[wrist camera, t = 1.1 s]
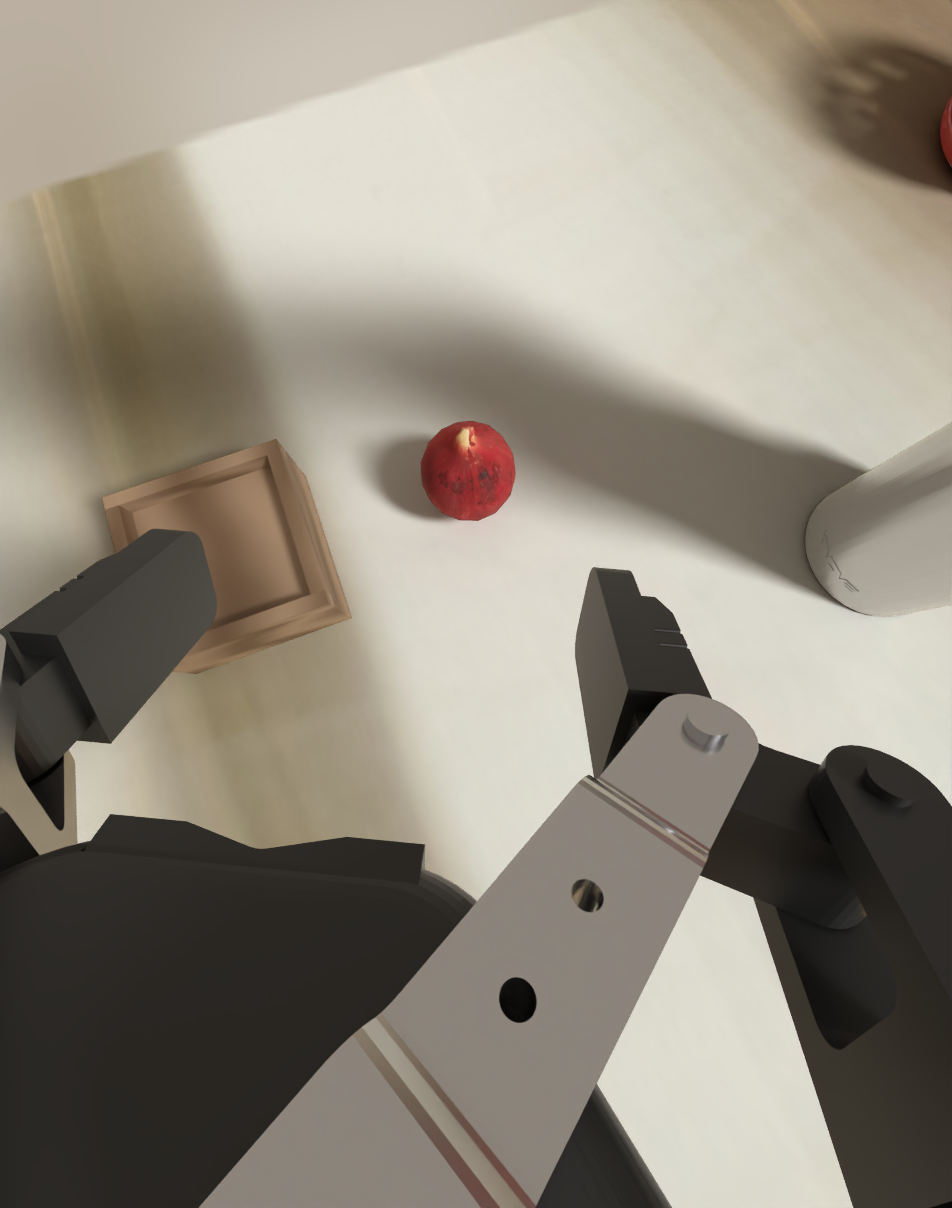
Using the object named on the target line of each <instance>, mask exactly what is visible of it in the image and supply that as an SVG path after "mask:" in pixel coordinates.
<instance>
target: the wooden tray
mask: <svg viewBox="0 0 952 1208" xmlns="http://www.w3.org/2000/svg"><path fill="white" fill-rule="evenodd" d="M102 500H103V504H104V508H105V512H106V517H107V521H108V525H109V529H110V533H111V537H112V541H113V546H114V550H115V554H117V553H118V552H119V551H121V550H122V549H124V548H125V547H126V546H128V545H129V544H131V543H132V542H133V541H135V540H136V539H138V538H139V537H140V536H142V535H143V534H145V533H146V532H147V531H149V530H151V529H168V530H179V531H191V532H194V533H196V534H197V535H198V536H199V538H200V539H201V541H202V544H203V548H204V551H205V555H206V559H207V563H208V567H209V570H210V574H211V578H212V582H213V586H214V589H215V593H216V598H217V611H216V615H215V618H214V621H213V623H212V625H211V626H210V627H209V628H208V630H207V631H206V632H205V633H204V634H203V636H202V637H201V638H200V639H199V640H198V641H197V643H196V644H195V645H194V646H193V647H192V648H191V650H190V651H189V652H188V653H187V654H186V656H185V657H184V658H183V659H182V660H181V661H180V663H179V664H178V665H177V666H176V667H175V668H174V670H173V671H172V672H181V673H192V674H197V673H200V672H203V671H205V670H208V669H211V668H214V667H216V666H219V665H222V664H225V663H228V662H230V661H233V660H236V659H239V658H241V657H244V656H247V655H250V654H253V653H255V652H258V651H261V650H264V649H267V648H269V647H272V646H275V645H278V644H280V643H283V642H286V641H289V640H292V639H294V638H297V637H300V636H303V635H305V634H308V633H311V632H314V631H317V630H319V629H322V628H325V627H328V626H330V625H333V624H336V623H339V622H342V621H344V620H347V619H350V618H352V617H351V614H350V611H349V608H348V605H347V602H346V599H345V596H344V592H343V589H342V586H341V583H340V580H339V577H338V574H337V571H336V568H335V565H334V562H333V559H332V556H331V552H330V549H329V546H328V543H327V540H326V537H325V534H324V531H323V528H322V525H321V522H320V519H319V516H318V512H317V509H316V506H315V503H314V500H313V497H312V494H311V491H310V488H309V485H308V482H307V479H306V476H305V475H304V474H303V473H302V471H301V470H300V469H299V467H298V466H297V465H296V464H295V462H294V461H293V460H292V458H291V457H290V456H289V455H288V453H287V452H286V451H285V450H284V448H283V447H282V446H281V444H280V443H279V442H278V441H277V439H275V440H272V441H269V442H266V443H263V444H260V445H257V446H254V447H251V448H248V449H245V450H242V451H239V452H236V453H233V454H230V455H227V456H224V457H221V458H218V459H215V460H212V461H209V462H206V463H203V464H200V465H197V466H194V467H191V468H188V469H185V470H183V471H180V472H177V473H174V474H171V475H168V476H165V477H162V478H159V479H156V480H153V481H150V482H147V483H144V484H141V485H138V486H135V487H132V488H129V489H126V490H123V491H120V492H117V493H114V494H111V495H108V496H105V497H102Z"/></svg>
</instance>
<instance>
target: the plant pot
mask: <svg viewBox="0 0 952 1208" xmlns="http://www.w3.org/2000/svg"><path fill="white" fill-rule="evenodd" d="M940 138H941V145H942V148H943V152H944V154H945V157H946V159H947V161H948V162H949V164H950V166H951V167H952V95H951V97H950V99H949V101H948V103H947V105H946V107H945V110H944V113H943V116H942V121H941V126H940Z"/></svg>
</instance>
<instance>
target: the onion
mask: <svg viewBox="0 0 952 1208" xmlns="http://www.w3.org/2000/svg"><path fill="white" fill-rule="evenodd" d="M421 474H422V485H423V487H424V489H425V491H426V493H427V495H428V497H429V499H430V500H431V502H432V503H433V504H434V505H435V506H436V507H437V508H438V509H439V510H440V511H441V512H442V513H443V514H446V515H448V516H450V517H453V518H455V519H458V520H474V521H479V520H481V519H483V518H485V517H488V516H490V515H492V514H494V513H496V512H497V511H498V510H499V508H500V507H501V506H502V505H503V504H504V503H505V501H506V500H507V499H508V498H509V496H510V495H511V491H512V487H513V483H514V479H515V466H514V458H513V454H512V451H511V449H510V448H509V446H508V445H507V443H506V441H505V440H504V438H503V437H502V436H501V435H500V434H499V433H498V432H496V431H495V430H494V429H493V428H492V427H491V426H489V425H487V424H483V423H478V422H474V421H467V422H457V423H454V424H452V425H450V426H448V427H446V428H443V429H441V430H440V431H439V432H438V433H437V435H436V436H435V437H434V438H433V439H432V440H431V441H430V442H429V443H428V445H427V448H426V450H425V453H424V455H423V458H422V460H421Z"/></svg>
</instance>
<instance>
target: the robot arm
mask: <svg viewBox="0 0 952 1208" xmlns="http://www.w3.org/2000/svg"><path fill="white" fill-rule="evenodd" d="M805 546H806V553H807V558H808V561H809V564H810V566H811V569H812V571H813V573H814V575H815V576H816V578H817V579H818V581H819V582H820V584H821V585H822V586H823V587H824V588H825V590H826V591H827V592H828V593H829V594H830V595H831V596H832V597H834V598H835V599H836V600H838V601H839V602H841V603H842V604H843V605H845V606H847V607H849V608H851V609H853V610H855V611H858V612H860V613H864V614H868V615H872V616H884V617H891V616H897V615H903V614H908V613H913V612H918V611H923V610H928V609H933V608H938V607H943V606H948V605H952V422H951V423H950V424H948V425H946V426H944V427H943V428H941V429H939V430H938V431H936V432H934V433H933V434H931V435H929V436H928V437H926V438H924V439H922V440H921V441H919V442H917V443H916V444H914V445H912V446H911V447H909V448H907V449H906V450H904V451H902V452H900V453H899V454H897V455H895V456H894V457H892V458H890V459H889V460H887V461H885V462H884V463H882V464H880V465H878V466H876V467H875V468H873V469H871V470H870V471H868V472H866V473H865V474H863V475H861V476H860V477H858V478H856V479H855V480H853V481H851V482H850V483H848V484H846V485H845V486H843V487H841V488H839V489H838V490H836V491H835V492H833V493H831V494H830V495H828V496H827V497H825V498H824V499H823V500H822V501H821V502H820V503H819V504H818V505H817V506H816V508H815V510H814V511H813V513H812V515H811V517H810V519H809V522H808V525H807V529H806V538H805ZM216 611H217V598H216V593H215V589H214V586H213V582H212V578H211V574H210V570H209V567H208V563H207V559H206V555H205V551H204V548H203V544H202V541H201V539H200V538H199V536H198V535H197V534H196V533H194V532H191V531H179V530H168V529H151V530H149V531H147V532H146V533H145V534H143V535H142V536H140V537H139V538H138V539H136V540H135V541H133V542H132V543H131V544H129V545H128V546H126V547H125V548H124V549H122V550H121V551H119V552H118V553H117V554H114V555H112V556H109V557H107V558H105V559H102V560H100V561H98V562H96V563H95V564H93V565H92V566H90V567H89V568H88V569H86V570H85V571H83V572H82V573H80V574H79V575H78V576H77V579H72V580H70V581H69V582H68V583H66V584H65V585H63V586H62V587H61V588H60V591H55V592H53V593H52V594H51V595H49V596H48V597H46V598H45V599H43V600H42V601H41V602H39V603H38V604H36V605H35V606H33V607H32V608H31V609H29V610H28V611H26V612H25V613H24V614H22V615H21V616H19V617H18V618H16V619H15V620H14V621H12V622H11V623H9V624H8V625H6V626H5V627H4V628H2V629H1V630H0V1208H672V1207H671V1205H670V1204H669V1202H668V1200H667V1199H666V1197H665V1195H664V1194H663V1192H662V1190H661V1189H660V1187H659V1186H658V1184H657V1182H656V1181H655V1179H654V1177H653V1176H652V1174H651V1172H650V1171H649V1169H648V1167H647V1166H646V1164H645V1163H644V1161H643V1159H642V1158H641V1156H640V1154H639V1153H638V1151H637V1149H636V1148H635V1146H634V1144H633V1143H632V1141H631V1139H630V1138H629V1136H628V1135H627V1133H626V1131H625V1130H624V1128H623V1126H622V1125H621V1123H620V1121H619V1120H618V1118H617V1116H616V1115H615V1113H614V1112H613V1110H612V1108H611V1107H610V1105H609V1103H608V1102H607V1100H606V1098H605V1097H604V1095H603V1093H602V1092H601V1090H600V1089H599V1087H598V1085H597V1081H598V1079H599V1077H600V1075H601V1073H602V1071H603V1069H604V1067H605V1065H606V1063H607V1061H608V1059H609V1057H610V1055H611V1053H612V1051H613V1049H614V1047H615V1045H616V1043H617V1041H618V1039H619V1037H620V1035H621V1033H622V1031H623V1029H624V1027H625V1025H626V1023H627V1021H628V1019H629V1017H630V1015H631V1013H632V1011H633V1009H634V1007H635V1005H636V1003H637V1001H638V999H639V997H640V995H641V993H642V991H643V989H644V987H645V985H646V983H647V981H648V979H649V977H650V975H651V973H652V970H653V968H654V966H655V964H656V962H657V960H658V958H659V956H660V954H661V952H662V950H663V948H664V946H665V944H666V942H667V940H668V938H669V936H670V934H671V932H672V930H673V928H674V926H675V924H676V922H677V920H678V918H679V916H680V914H681V912H682V910H683V908H684V906H685V904H686V902H687V900H688V898H689V896H690V894H691V892H692V890H693V888H694V886H695V884H696V882H697V880H698V878H699V876H703V877H705V878H708V879H710V880H713V881H715V882H717V883H720V884H722V885H725V886H727V887H730V888H732V889H734V890H737V891H739V892H742V893H744V894H746V895H749V896H751V897H753V898H754V901H755V904H756V908H757V911H758V914H759V917H760V920H761V923H762V926H763V929H764V932H765V935H766V938H767V942H768V945H769V948H770V951H771V954H772V957H773V960H774V963H775V966H776V969H777V973H778V976H779V979H780V982H781V985H782V988H783V991H784V994H785V997H786V1000H787V1004H788V1007H789V1010H790V1013H791V1016H792V1019H793V1022H794V1025H795V1028H796V1031H797V1034H798V1038H799V1041H800V1044H801V1047H802V1050H803V1053H804V1056H805V1059H806V1062H807V1065H808V1069H809V1072H810V1075H811V1078H812V1081H813V1084H814V1087H815V1090H816V1093H817V1096H818V1099H819V1103H820V1106H821V1109H822V1112H823V1115H824V1118H825V1121H826V1124H827V1127H828V1130H829V1134H830V1137H831V1140H832V1143H833V1146H834V1149H835V1152H836V1155H837V1158H838V1161H839V1165H840V1168H841V1171H842V1174H843V1177H844V1180H845V1183H846V1186H847V1189H848V1192H849V1195H850V1199H851V1202H852V1205H853V1208H952V806H951V805H950V803H949V802H948V801H947V799H946V798H945V797H944V796H943V794H942V793H941V792H940V791H939V790H938V788H937V787H936V786H935V785H934V784H932V783H931V782H930V781H929V780H928V779H927V778H926V777H925V776H923V775H922V774H921V773H920V772H918V771H917V770H915V769H914V768H912V767H911V766H909V765H908V764H906V763H904V762H902V761H901V760H899V759H897V758H895V757H893V756H891V755H889V754H886V753H883V752H881V751H878V750H875V749H871V748H868V747H862V746H854V745H848V746H841V747H837V748H835V749H833V750H831V752H830V753H829V754H828V755H827V756H826V758H825V759H824V761H823V762H822V764H821V765H819V764H816V763H813V762H810V761H807V760H804V759H801V758H798V757H795V756H792V755H788V754H785V753H782V752H779V751H776V750H773V749H771V748H768V747H765V746H763V745H761V744H759V743H758V740H757V737H756V735H755V733H754V731H753V729H752V728H751V726H750V725H749V724H748V723H747V722H746V720H745V719H744V718H743V717H741V716H740V715H739V714H738V713H737V712H735V711H734V710H732V709H731V708H729V707H728V706H726V705H724V704H722V703H720V702H718V701H716V700H713V699H712V698H711V695H710V693H709V691H708V689H707V687H706V685H705V682H704V680H703V678H702V676H701V674H700V672H699V669H698V667H697V665H696V663H695V661H694V658H693V656H692V654H691V652H690V650H689V649H687V643H686V641H685V639H684V637H683V635H682V634H680V631H681V630H680V628H679V626H678V624H677V622H676V619H675V617H674V615H673V613H672V612H671V611H670V610H669V609H668V608H666V607H665V606H664V605H663V604H662V603H661V602H660V601H659V600H658V599H657V598H655V597H647V596H641V594H640V592H639V589H638V587H637V584H636V581H635V579H634V576H633V574H632V572H631V571H629V570H618V569H607V568H595V567H594V568H592V570H591V572H590V574H589V578H588V582H587V587H586V591H585V596H584V601H583V605H582V610H581V614H580V619H579V624H578V628H577V634H576V643H575V658H576V665H577V672H578V678H579V684H580V691H581V697H582V703H583V710H584V716H585V723H586V729H587V735H588V742H589V748H590V754H591V761H592V767H593V773H594V778H593V777H592V776H590V775H588V776H585V777H584V778H583V779H581V780H580V781H579V782H578V783H577V784H576V786H575V787H574V788H573V789H572V790H571V791H570V792H569V794H568V795H567V796H566V797H565V798H564V800H563V801H562V802H561V803H560V804H559V805H558V807H557V808H556V809H555V810H554V811H553V813H552V814H551V815H550V816H549V817H548V818H547V820H546V821H545V822H544V823H543V824H542V826H541V827H540V828H539V829H538V830H537V831H536V833H535V834H534V835H533V836H532V837H531V839H530V840H529V841H528V842H527V843H526V844H525V846H524V847H523V848H522V849H521V850H520V852H519V853H518V854H517V855H516V856H515V857H514V859H513V860H512V861H511V862H510V863H509V865H508V866H507V867H506V868H505V869H504V870H503V872H502V873H501V874H500V875H499V876H498V878H497V879H496V880H495V881H494V882H493V883H492V885H491V886H490V887H489V888H488V889H487V891H486V892H485V893H484V894H483V895H482V896H481V898H480V899H479V900H478V901H476V900H475V899H474V898H473V897H472V896H471V895H469V894H468V893H467V892H465V891H464V890H462V889H461V888H460V887H458V886H457V885H456V884H454V883H452V882H450V881H448V880H447V879H445V878H443V877H441V876H439V875H437V874H435V873H432V872H430V871H427V870H425V844H414V843H404V842H393V841H383V840H373V839H362V838H352V837H344V838H337V839H330V840H323V841H316V842H309V843H302V844H295V845H289V846H282V847H275V848H268V849H256V848H252V847H249V846H247V845H244V844H242V843H239V842H237V841H234V840H232V839H229V838H227V837H224V836H222V835H219V834H217V833H214V832H212V831H209V830H207V829H204V828H202V827H199V826H197V825H194V824H192V823H189V822H186V821H176V820H165V819H155V818H145V817H134V816H124V815H114V814H110V815H109V817H108V818H107V819H106V821H105V822H104V823H103V825H102V826H101V828H100V829H99V830H98V832H97V833H96V834H95V836H94V837H93V838H92V840H91V841H87V842H83V843H79V844H77V816H76V781H75V762H74V759H73V757H72V755H71V754H70V752H69V750H68V749H69V748H70V747H71V746H72V745H73V744H74V743H75V742H76V741H88V742H99V743H109V744H111V743H112V741H113V740H114V739H115V738H116V737H117V736H118V734H119V733H120V732H121V731H122V730H123V729H124V727H125V726H126V725H127V724H128V723H129V721H130V720H131V719H132V718H133V717H134V716H135V714H136V713H137V712H138V711H139V710H140V708H141V707H142V706H143V705H144V704H145V703H146V701H147V700H148V699H149V698H150V697H151V696H152V694H153V693H154V692H155V691H156V690H157V688H158V687H159V686H160V685H161V684H162V683H163V681H164V680H165V679H166V678H167V677H168V676H169V674H170V673H171V672H172V671H173V670H174V668H175V667H176V666H177V665H178V664H179V663H180V661H181V660H182V659H183V658H184V657H185V656H186V654H187V653H188V652H189V651H190V650H191V648H192V647H193V646H194V645H195V644H196V643H197V641H198V640H199V639H200V638H201V637H202V636H203V634H204V633H205V632H206V631H207V630H208V628H209V627H210V626H211V625H212V623H213V621H214V618H215V615H216Z"/></svg>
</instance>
